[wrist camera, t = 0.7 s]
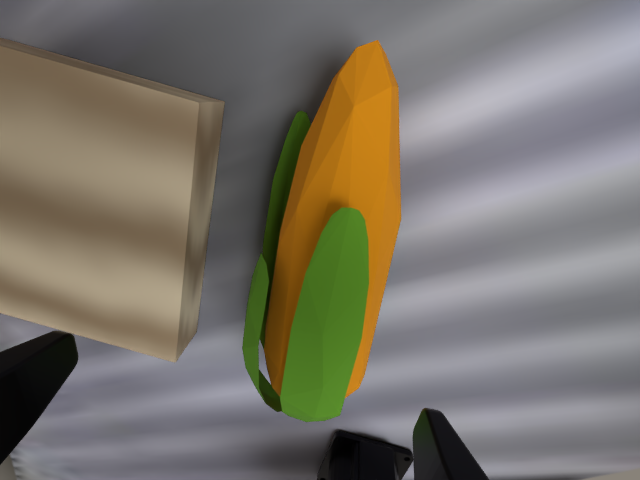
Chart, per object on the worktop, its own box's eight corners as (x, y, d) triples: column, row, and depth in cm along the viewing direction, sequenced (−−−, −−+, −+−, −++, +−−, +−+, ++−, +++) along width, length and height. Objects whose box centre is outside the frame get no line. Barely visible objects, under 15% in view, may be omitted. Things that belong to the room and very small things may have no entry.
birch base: (196, 332, 24) (175, 362, 21) (38, 287, 24) (-4, 311, 21) (224, 101, 17) (199, 102, 14) (4, 38, 17) (-64, 27, 14)
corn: (221, 458, 17) (235, -8, 9) (254, 352, 24) (280, 36, 16) (361, 477, 17) (507, 38, 9) (354, 366, 24) (431, 61, 16)
